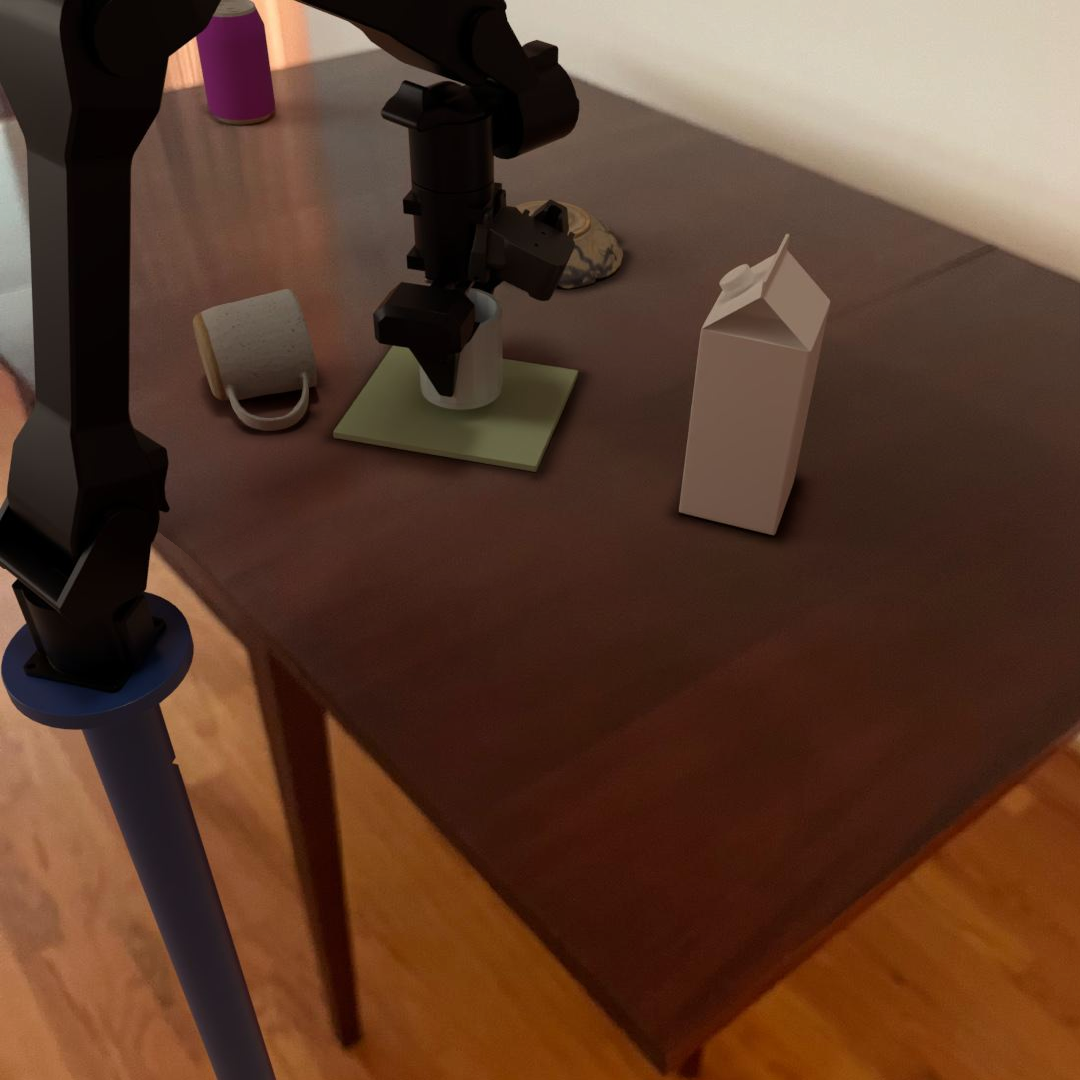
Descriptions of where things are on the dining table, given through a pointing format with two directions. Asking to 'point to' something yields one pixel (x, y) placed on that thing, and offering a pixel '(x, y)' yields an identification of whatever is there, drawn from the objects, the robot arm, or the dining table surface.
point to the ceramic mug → (257, 353)
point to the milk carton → (753, 393)
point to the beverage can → (236, 64)
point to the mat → (461, 414)
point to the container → (475, 360)
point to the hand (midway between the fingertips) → (459, 373)
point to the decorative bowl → (585, 247)
